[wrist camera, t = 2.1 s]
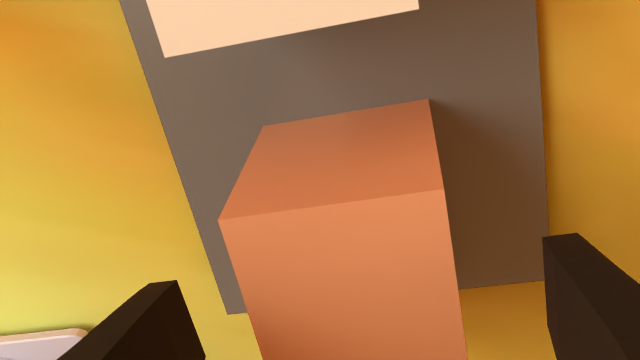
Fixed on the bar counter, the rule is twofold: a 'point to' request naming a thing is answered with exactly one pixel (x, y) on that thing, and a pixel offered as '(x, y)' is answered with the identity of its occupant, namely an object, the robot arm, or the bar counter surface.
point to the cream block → (254, 19)
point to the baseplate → (370, 92)
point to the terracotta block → (347, 239)
